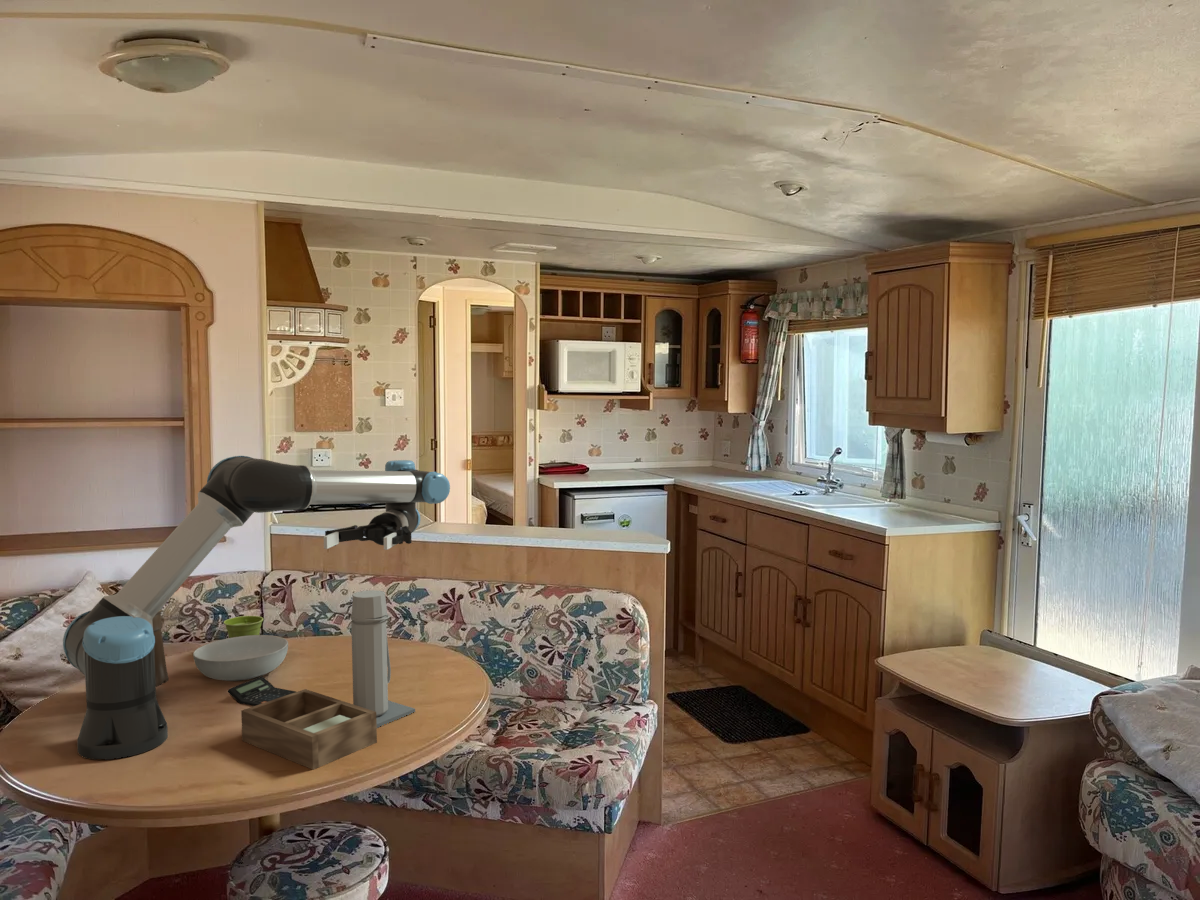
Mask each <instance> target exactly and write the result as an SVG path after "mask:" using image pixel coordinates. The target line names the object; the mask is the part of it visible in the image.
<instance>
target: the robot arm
mask: <svg viewBox="0 0 1200 900" xmlns="http://www.w3.org/2000/svg"><path fill="white" fill-rule="evenodd" d="M384 465H385V466H384V470H330V469H329V470H328V469H327V470H320V469H316V470H315V469H313V470H312V469H310V467H308V466H307V465H304V464H303V465H299V464H297V465H295V464H287V463H281V462H276V461H273V460H268V459H263V458H254V457H250V456H246V455H235V456H234V455H233V456H230V457H226V458H224V459H221V460H220V461H218V462H217V463H215V465H214V466H213V467H212V468H211V470H210V471H209V473H208V475H207V479H206V484H205V485H204V486H203V487H202V488H201V489H200V490H199V491H198V492H197V501H198V502H197V504H196V505H195V506H194V508H193V509H192V510H191V511H190V512H189V513H188V514H187V516H185V518H183V520H182V521H181V522H180V523H179V524H178V525H177V526H176V527H175V529H174V530H173V531H172V532H171V533H170V534H169V535H168V537H166V539H165V540H163V542H162V543H161V544H160V545H159V546H158V547H157V549H156V550H154V552H153V553H152V554H151V555H150V556H149V558H148V559H147V560H146V561H145V562H144V563H143V564H142V565H141V566H140V567H139V568H138V570H137V571H136V572H135V573H134V574H133V575H132V576H131V577H130V578H129V580H128V581H126V583H125V584H124V585H123V586H122V587H121V589H119V591H118V592H117V593H114V594H110V595H104V596H102V598H101V599H100V600H99V601H98V602H97V604H96V605H94V606H93V608H92V609H91V610H88V611H86V612H83V613H81V614H78V616H77V617H75V618H73V620H72V621H71V622H70V623H69V625H68V626H67V627H66V629H65V631H64V634H63V639H62V649H63V652H64V654H65V657H66V659H67V661H68V662H69V663H70V665H72V666H73V667H74V668H76V669H77V670H78V671H79V672H80V673H81V674H83V675H84V680H85V698H86V699H85V700H86V711H85V713H84V718H83V720H82V723H81V724H82V725H81V726H80V731H79V733H78V737H77V742H76V744H77V745H76V746H77V754H78V753H79V754H80V755H81V756H80V755H79V754H78V755H79V756H80V757H82V756H83V757H82V758H84V757H85V758H84V759H88V758H90V759H89V760H96V759H105V760H114V758H116V759H122V758H121V757H123V758H127V756H128V757H131V756H135V755H139V754H143V753H145V752H148V751H150V750H151V751H152V749H155V748H157V747H158V746H160V745H162V744H163V743H164V742H166V740H168V736H169V731H168V728H169V727H168V723H167V720H166V717H165V716H164V713H163V711H162V709H161V707H160V704H159V701H158V699H157V690H156V688H157V687H156V679H155V652H154V643H155V636H154V634H153V623H152V620H153V617H154V616H155V615H156V614H157V612H158V611H159V610H160V609H162V607H164V605H166V603H167V602H169V600H170V599H171V597H173V595H174V594H175V593H176V592H177V591H178V590H179V588H180V587H181V586H182V585H183V584H184V583H185V581H186V580H187V579H188V578H190V575H191V574H192V573H194V571H195V570H196V569H197V567H199V565H200V564H201V563H202V562H203V561H204V560H205V558H206V557H207V556H208V555H209V554H210V553H211V551H212V550H213V549H214V548H215V547H216V546H217V544H219V542H220V541H221V540H222V539H223V538H224V536H225V535H226V534H227V533H228V532H229V531H230V530H231V529H232V528H236V527H243V525H244V524H245V523H246V522H247V521H248V520H249V519H250V518H251V516H252V515H254V513H257V514H258V513H260V514H261V513H262V514H263V513H271V512H272V513H273V512H282V511H283V512H284V511H293V510H294V511H295V510H307V508H309V507H310V505H342V504H343V505H345V504H347V505H348V504H350V505H351V504H353V505H354V504H385V511H384V512H383V513H380V514H378V515H376V516H374V517H373V518H372V519H370V521H369V523H368V524H366V525H360V526H359V525H356V524H354V525H351V526H348V527H343V528H342V527H341V528H337V529H330V530H326V531H324V534H325V535H324V536H323V549H324V550H328V549H330V548H332V547H336V546H337V545H339V544H340V543H344V542H351V541H361V542H367V541H371V542H374V543H375V544H376V545H378V546H379V545H380V546H383V550H384V551H386V550H390V549H391V548H393V547H395V546H397V545H398V544H399V545H402V544H403V543H404V542H405V544H408V545H410V544H412V533H414V532H415V531H416V530H417V529H418V528H419V526H420V523H421V513H420V512H419V511H418V509H417V506H416V504H417V503H427V504H431V505H432V504H437V505H438V504H441V503H443V502H444V501H445V500H447V498H448V497H449V495H450V492H451V491H450V489H451V485H450V480H449V479H448V477H446V476H445V475H444V474H443V473H440V472H437V471H425V470H419V469H417V468H416V465H415V462H414V461H413V460H409V459H408V460H407V459H401V460H399V459H398V460H397V459H395V460H389V461H386V463H385V464H384Z"/></svg>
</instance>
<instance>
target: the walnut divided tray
mask: <svg viewBox="0 0 1200 900" xmlns="http://www.w3.org/2000/svg"><path fill="white" fill-rule="evenodd" d="M240 712H241V740H242V742H244V743H246V742H247V743H246V744H249V745H251V744H252V746H254V747H256V746H257V747H256V748H259V749H262V750H264V751H267V752H269V753H271V754H273V755H276V756H279V757H281V758H284V759H286V760H288V761H291V762H293V763H296V764H298V765H301V766H302V767H306V768H308V769H311V770H313V771H314V770H315V769H318V768H321V767H322V766H325V765H327V764H330V763H333V762H335V761H337V760H339V759H341V758H344V757H346V756H348V755H351V754H353V753H355V752H358V751H360V750H362V749H364V748H367V747H369V746H373V745H374V744H377V743H378V736H377V735H378V734H377V733H378V731H377V730H378V728H377V723H376V712H375V711H372V710H369V709H366V708H363V707H359V706H356V705H353V703H350V702H348V701H347V702H346V701H343V700H341V699H337V698H336V697H335V698H334V697H332V696H328V695H325V694H321V693H319V692H316V691H314V690H313V691H312V690H309V689H306V688H304V689H302V690H298V691H296V692H295V693H292V694H289V695H286V696H283V697H280V698H277V699H274V700H271V701H268V702H265V703H262V704H259V705H256V706H250V707H247V708H245V709H242V710H241V711H240ZM338 715H342V716H345V717H348V718H351V719H349V720H346V721H344V722H341V723H339V724H336V725H334V726H331V727H328V728H326V729H323V730H321V731H318V732H315V733H312V732H309V731H306V730H304V729H305V728H307V727H310V726H312V725H315V724H317V723H320V722H323V721H325V720H328V719H330V718H333V717H335V716H338Z"/></svg>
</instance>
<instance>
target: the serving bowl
mask: <svg viewBox="0 0 1200 900" xmlns="http://www.w3.org/2000/svg"><path fill="white" fill-rule="evenodd" d="M288 649H289V640H287V639H286V638H284V637H282V636H276V635H270V634H269V635H267V634H259V635H250V636H240V637H233V638H229V637H228V638H223V639H219V640H215V641H212V642H210V643H207V644H203V645H202V646H199V647H198V648H196V649H195V650H194V651H193V654H192V657H193V662H194V664H195V667H196V669H198V671H199V672H200V673H201V674H203V675H204V676H205V677H207V678H209V679H213V680H219V681H228V682H241V681H243V682H244V681H246V680H247V681H249V680H253V679H255V678H258V677H260V676H264V675H266V674H268V673H270V672H272V671H274V670H275V669H277V668H278V667H279V666H281V664H282V663H283V662H284V660H285V658H286V656H287V653H288Z"/></svg>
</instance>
